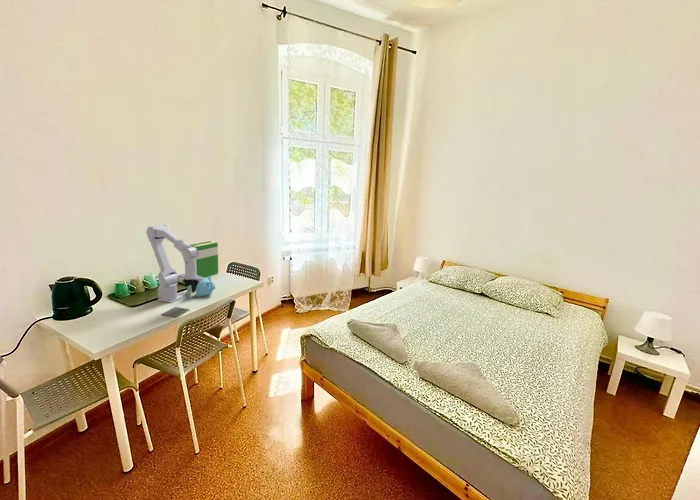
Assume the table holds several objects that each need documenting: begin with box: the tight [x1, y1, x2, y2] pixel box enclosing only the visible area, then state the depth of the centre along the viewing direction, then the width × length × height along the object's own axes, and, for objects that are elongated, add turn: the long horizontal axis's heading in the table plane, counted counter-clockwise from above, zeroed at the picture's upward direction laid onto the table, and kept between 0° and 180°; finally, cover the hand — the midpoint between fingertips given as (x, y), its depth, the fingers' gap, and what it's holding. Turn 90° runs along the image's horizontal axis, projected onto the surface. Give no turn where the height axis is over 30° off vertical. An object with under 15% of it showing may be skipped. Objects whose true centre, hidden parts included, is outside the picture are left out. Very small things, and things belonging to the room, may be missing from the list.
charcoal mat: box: [160, 306, 190, 318], centre depth 169 cm, size 9×10×1 cm
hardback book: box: [189, 240, 219, 278], centre depth 225 cm, size 18×7×24 cm, turn 155°
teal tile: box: [186, 285, 196, 298], centre depth 176 cm, size 2×5×6 cm, turn 168°
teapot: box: [193, 276, 216, 298], centre depth 195 cm, size 15×15×11 cm
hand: (191, 291), depth 176 cm, fingers closed on teal tile, 2 cm apart
